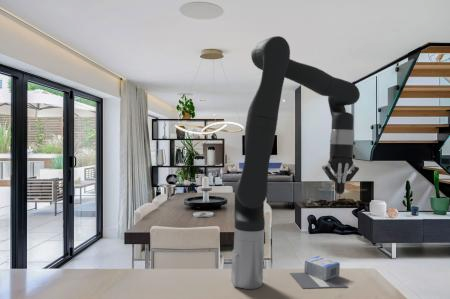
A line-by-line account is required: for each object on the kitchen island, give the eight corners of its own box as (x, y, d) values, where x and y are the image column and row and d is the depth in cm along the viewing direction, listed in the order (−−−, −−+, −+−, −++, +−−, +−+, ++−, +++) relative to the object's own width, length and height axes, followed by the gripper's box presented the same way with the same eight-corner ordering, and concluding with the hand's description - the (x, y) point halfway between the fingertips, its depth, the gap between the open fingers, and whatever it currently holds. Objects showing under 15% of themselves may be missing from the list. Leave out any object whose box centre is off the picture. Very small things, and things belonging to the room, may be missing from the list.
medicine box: (326, 267, 111) (304, 259, 118) (325, 281, 111) (303, 272, 118) (340, 262, 116) (318, 255, 123) (339, 276, 116) (317, 267, 123)
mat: (302, 288, 106) (302, 287, 106) (289, 273, 117) (289, 272, 117) (347, 287, 108) (347, 286, 108) (330, 272, 120) (330, 272, 120)
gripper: (328, 142, 115) (325, 195, 116) (365, 144, 117) (363, 195, 117) (318, 142, 123) (316, 191, 123) (354, 143, 124) (352, 192, 125)
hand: (339, 193), depth 120 cm, fingers closed
